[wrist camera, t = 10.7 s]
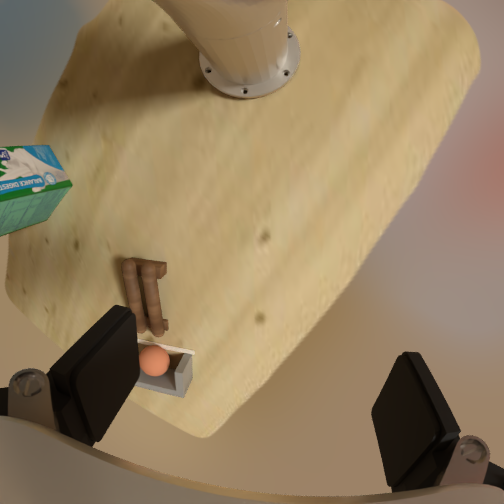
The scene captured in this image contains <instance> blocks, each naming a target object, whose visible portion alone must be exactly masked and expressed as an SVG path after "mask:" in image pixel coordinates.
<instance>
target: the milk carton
mask: <svg viewBox="0 0 504 504" xmlns="http://www.w3.org/2000/svg"><path fill="white" fill-rule="evenodd" d="M71 187H72V183H71V181H70V180H69V178H68V177H67V175H66V173H65V172H64V170H63V168H62V167H61V165H60V163H59V162H58V160H57V158H56V157H55V155H54V153H53V152H52V150H51V148H50V146H49V145H33V146H10V147H0V236H3V235H6V234H9V233H11V232H14V231H17V230H20V229H23V228H26V227H28V226H31V225H34V224H37V223H40V222H43V221H46V220H47V219H48V218H49V216H50V215H51V213H52V212H53V211H54V209H55V208H56V206H57V205H58V204H59V202H60V201H61V200H62V198H63V197H64V196H65V194H66V193H67V192H68V191H69V189H70V188H71Z"/></svg>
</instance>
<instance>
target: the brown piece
mask: <svg viewBox="0 0 504 504" xmlns="http://www.w3.org/2000/svg"><path fill="white" fill-rule="evenodd" d="M121 268H122V273H123V278H124V283H125V288H126V293H127V298H128V302H129V307H130V309H131V310H132V313H134V314H135V315H136V326H137V332H138V333H144V332H145V331H146V329H147V327H151V330H152V334H153V335H154V336H156V337H161V336H163V334H164V332H165V330H166V331H167V330H168V320H166V319H163V318H162V311H161V305H160V298H159V291H158V284H157V279H161V278H162V277H163V276H164V275H165V274H166V273H167V262H159V261H152V260H145V259H138V258H130V259H126V260H124V261H123V262H122V265H121ZM137 275H138V276H142V281H143V287H144V293H145V299H146V305H147V310H148V315H149V316H145V315H144V310H143V305H142V300H141V294H140V289H139V283H138V277H137Z"/></svg>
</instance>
